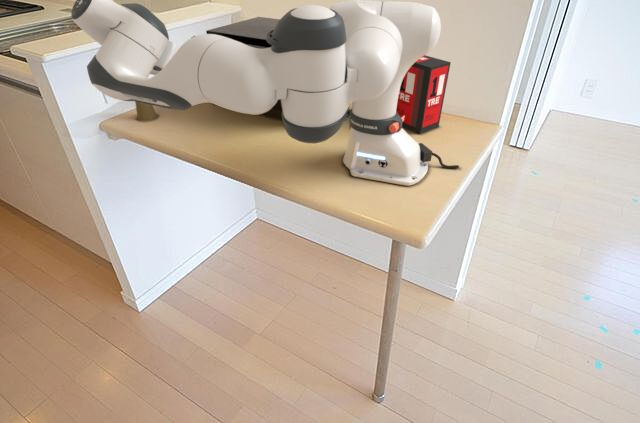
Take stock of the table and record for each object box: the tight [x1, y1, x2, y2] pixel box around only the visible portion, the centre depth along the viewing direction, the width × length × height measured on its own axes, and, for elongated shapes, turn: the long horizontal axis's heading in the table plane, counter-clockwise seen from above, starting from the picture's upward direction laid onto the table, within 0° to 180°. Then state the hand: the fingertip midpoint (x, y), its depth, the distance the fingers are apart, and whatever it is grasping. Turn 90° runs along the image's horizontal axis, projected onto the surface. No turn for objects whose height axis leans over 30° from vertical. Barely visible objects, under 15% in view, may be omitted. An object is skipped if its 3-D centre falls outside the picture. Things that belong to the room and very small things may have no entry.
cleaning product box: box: [396, 54, 452, 135], centre depth 125 cm, size 16×9×20 cm, turn 39°
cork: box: [134, 101, 158, 122], centre depth 130 cm, size 6×6×11 cm
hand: (183, 81), depth 104 cm, fingers closed
